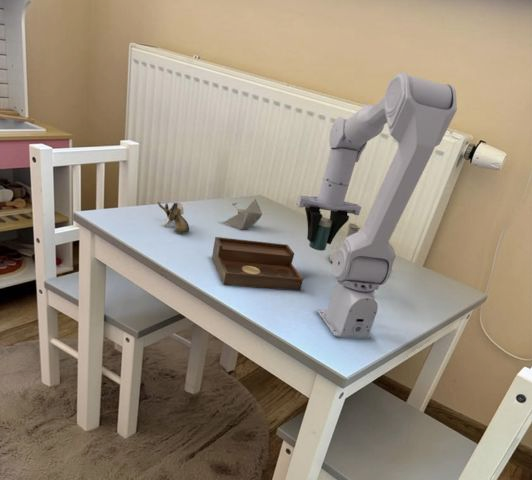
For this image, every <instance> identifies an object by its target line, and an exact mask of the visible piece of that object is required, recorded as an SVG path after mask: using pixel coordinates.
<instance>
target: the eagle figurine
mask: <svg viewBox="0 0 532 480" xmlns="http://www.w3.org/2000/svg"><path fill="white" fill-rule="evenodd" d="M157 205H158V207H159V208H161V209H162V210H163V211H164V212H165V214H166V217H167V219H166V221H165V223H164V227H167V226H169V225H170V224H171V223H172V222H175V224H174V225H175V226H174V233H176V234H178V235H185V234H188V233H189V232H190V226H189V223H188V221H187V219H186V218H185V217H183V216H182V215H184V213H185V211H184V206H183V204H182V203H180V202H173V204H172V206H171V207H170V208H169V204H168V203H165V205H164V206H163V205H162V204H161V203H160V201H157Z"/></svg>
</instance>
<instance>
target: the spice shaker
mask: <svg viewBox="0 0 532 480" xmlns="http://www.w3.org/2000/svg"><path fill="white" fill-rule="evenodd" d="M331 225H332V220H330V218H327V217H324V216H323V217H322V218H321V220H320V223H319V225H318V227H317V231H316V234H315V238H314V241H313V242H310V241H309V247H310V248H311V249H313V250H316V251H321V252H322V251H323V252H324V251H325V250H326V248H327V245H328V244H327V242H328V238H329V235H330V232H331V228H332V226H331Z"/></svg>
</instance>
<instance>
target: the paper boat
mask: <svg viewBox="0 0 532 480" xmlns="http://www.w3.org/2000/svg"><path fill="white" fill-rule="evenodd" d="M237 204H238V202H234V203H231V205H232V206H233V207H234V208H236V205H237ZM262 216H263V212H262V209H261V208H260V205H259V203H258V200H257V198H255V199H254V200H253V201H252V202H251V203H250V204H249V205H248V206H247V208H245V209H241V208H237V214H235V215H233V216H232V217H231V218H230V217H229V218H228V219H227V220H225V221H224V222H222V224H224V225H226V226H229V227H232V228H235V229H238V230H245V229H247V228H250V227H252V226H254V225H255V224H256V223H257V222H258V221H259V220H260V219H261V218H262Z"/></svg>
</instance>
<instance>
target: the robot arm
mask: <svg viewBox="0 0 532 480" xmlns="http://www.w3.org/2000/svg"><path fill="white" fill-rule="evenodd" d="M457 110H458V107H457V92H456V89H455V86H453V85H452V84H450V83H445V84H444V83H441V82H436V81H432V80H429V79H425V78H420V77H417V76H412V75H408V74H407V73H405V72H399V73H397V74H396V75H395V76H394V77H392V79H390V80H389V83H388V84H387V87H386V90H385V93H384V96H383V97H382V98H381V99H380V100H379V101H377V102H376V103H375V104H371V103H365V104H364V105H363V106H362V107H361V108H360V109H358V110H357V111H356V112H354V113H353V114H352V115H351V116H349V117H348V118H347V119H346V118H343V117H342V116H337V117H336V119H335V120H334V122H333V123H332V125H331V128H330V130H329V131H330V132H329V136H328V142H329V147H330V150H329V153H328V157H327V161H326V164H325V169H324V172H323V177H322V179H321V184H320V188H319V192H318V195H317V196H315V195H314V196H313V195H312V196H311V195H310V196H309V195H297V198H296V203H295V205H296V206H297V207H298V208H302V209H303V208H304V210H305V215H306V221H307V222H306V223H307V236H306V237H307V239H306V240H308V242H309V243H310V242H313V241H314V238H315V234H316V231H317V227H318V225H319V223H320V220H321V218H322V217H324V216H323V214H322V213H321V211H330V212H329V213H330V214H329V219H330V220H332V225H331V226H332V228H331V232H330V235H329V238H328V242H327V245H331V244H332V242H333V241H334V238H336V235H337V234H338V233H339V231H340V230H341V228H343V226H345V225H346V223H347V222H348V221H349V219H350V216H349V215H348V214H350V215H351V214H352V215H354V216H360V214H361V210H362V206H361V205H360V204H358V203H352V202H349V201H345V199H346V197H347V192H348V189H349V186H350V182H351V179H352V176H353V173H354V169H355V166H356V163H358V162H359V161H360V158H361V155H362V153H363V152H364V150H365V149H366V146H367V144H368V142H369V141H371V140H372V139H374V138H375V137H377V136H379V135H381V133H382V132H383V131H384V128H385V125H386V124H387V126H388V131H389V135H390V136H391V137H392V138H393V139H394V140H395V141H396V142H397V149H396V151H395V154H394V156H393V158H392V161H391V162H390V165H389V167H388V170H386V171H387V172H386V174H385V176H384V179H383V181H382V183H381V184H380V187H379V190H378V191H377V194H376V196H375V199H374V201H373V203H372V205H371V207H370V210H369V212H368V214H367V217H366V219H365V221H364V223H363V226H362V228H361V229H360V230H358V232H357V233H354V234H352V235H350V236H348V237H346V238H345V240H344V242H343V244H342V245H341V247H340V248H339V249H338V250H337V251H336V253H335V255H334V258H333V262H331V263H332V264H331V265H332V266H331V267H332V268H331V269H332V270H331V271H332V274H333V276H334V278H335V280H336V283H335V285H334V289H333V292H332V295H331V299H330V301H329V305H328V308H327V310H322V309H319V310H318V311H317V313H318V315H319V316H320V317H321V319H322V320H323V322H324V323H325V324H326V326H327V328H328V329H329V330H330V331H331V333H332V334H333V336H334V337H336V338H353V339H354V338H356V339H372V337H373V335H372V334H371V328H372V326H373V323H374V321H375V318H376V316H377V313H378V304H377V303H378V302H377V301H376V299H375V296H374V295H375V291H378V290H379V288H380V286H383V285H384V284H386V282H388V280H389V279H390V276H391V274H392V271H393V265H394V263H395V260H396V258H397V256H396V251H395V249H394V247H393V245H392V244H391V242H390V239H391V237H392V236H393V234H394V231H395V229H396V227H397V225H398V223H399V222H400V220H401V217H402V215H403V213H404V211H405V209H406V207H407V206H408V203H409V202H410V199H411V197H412V195H413V193H414V191H415V189H416V187H417V185H418V183H419V181H420V179H421V177H422V175H423V173H424V171H425V169H426V168H427V164H428V162H429V161H430V159H431V156H432V155H433V152H434V151H435V148H436V147H437V146H439V145H440V144H441V142H442V140H443V139H444V137H445V134H446V132H447V130H448V128H449V126H450V125H451V123H452V121H453V119H454V116H455V115H456V112H457Z"/></svg>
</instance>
